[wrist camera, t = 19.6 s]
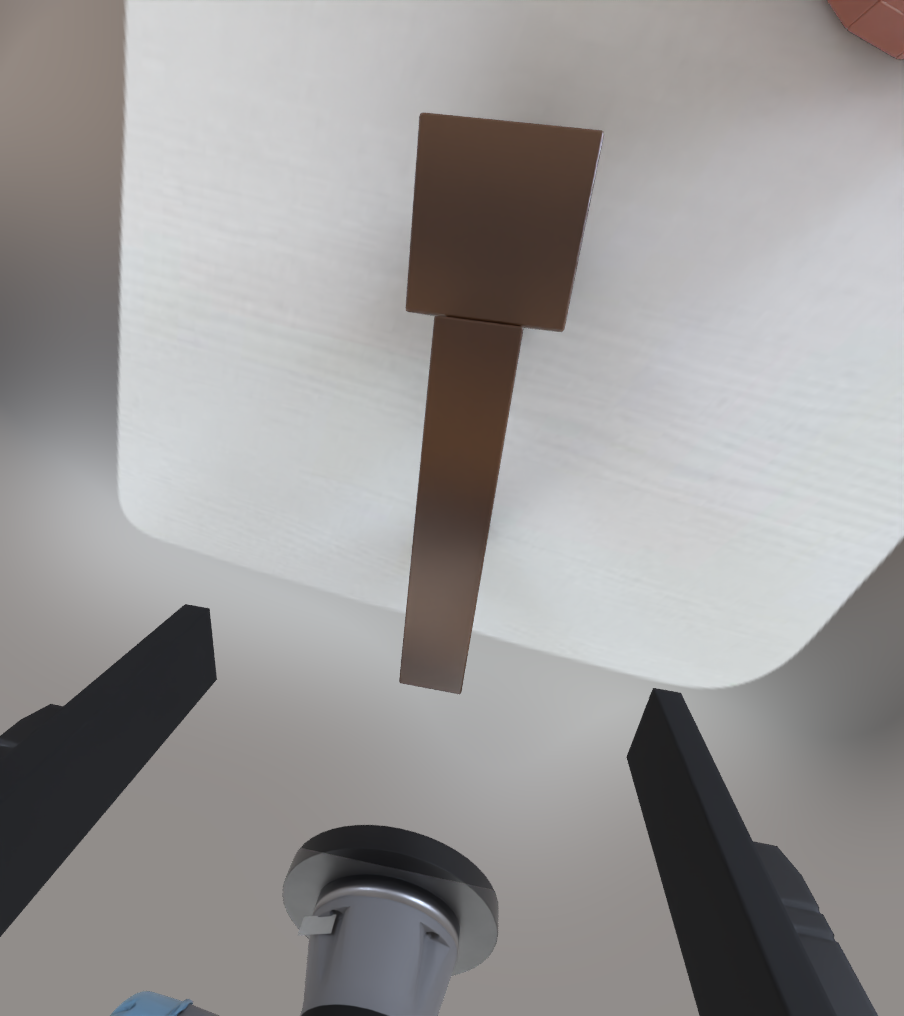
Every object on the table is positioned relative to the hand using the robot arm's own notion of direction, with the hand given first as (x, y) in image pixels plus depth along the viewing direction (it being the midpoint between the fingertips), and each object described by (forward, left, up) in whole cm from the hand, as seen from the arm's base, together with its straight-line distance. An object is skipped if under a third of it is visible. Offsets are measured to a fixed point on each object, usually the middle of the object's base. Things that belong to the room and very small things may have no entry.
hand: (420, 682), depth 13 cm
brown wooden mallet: (+6, 0, -15) cm, 16 cm away
